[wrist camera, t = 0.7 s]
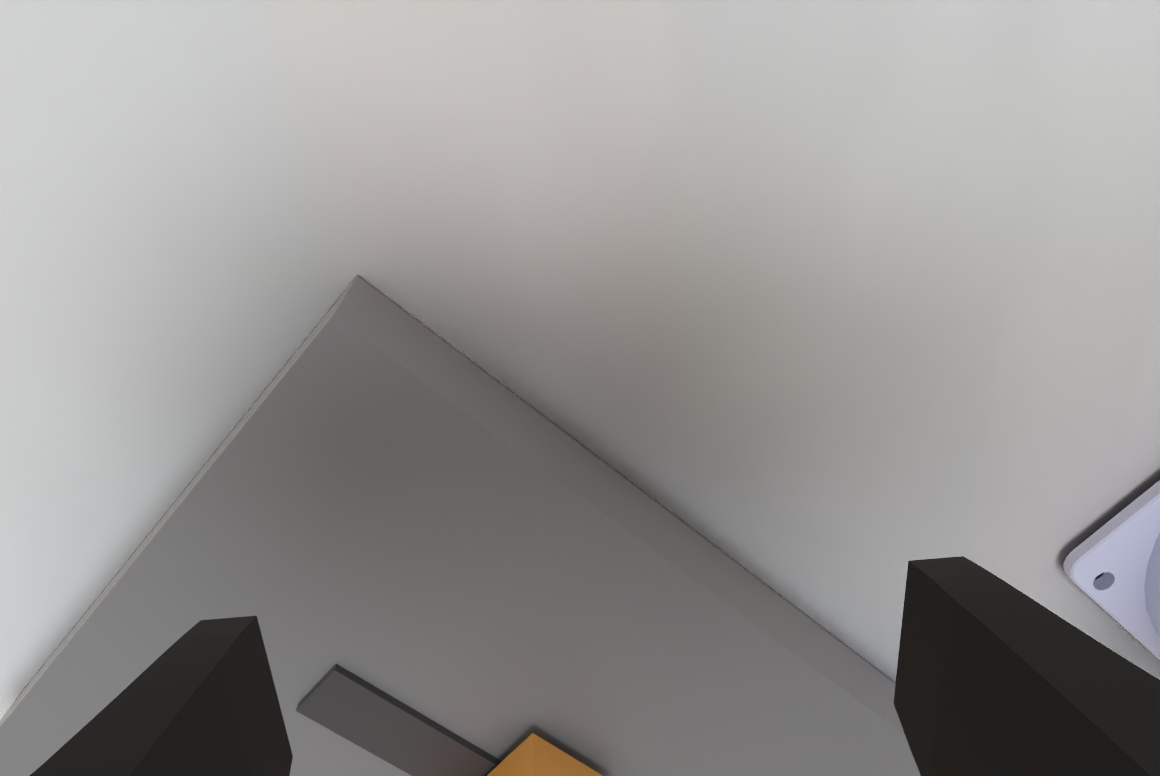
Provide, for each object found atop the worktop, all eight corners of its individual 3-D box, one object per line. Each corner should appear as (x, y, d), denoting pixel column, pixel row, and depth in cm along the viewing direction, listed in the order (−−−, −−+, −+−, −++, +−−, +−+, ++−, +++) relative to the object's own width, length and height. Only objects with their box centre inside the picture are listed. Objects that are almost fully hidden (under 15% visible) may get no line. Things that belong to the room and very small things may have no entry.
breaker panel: (920, 702, 23) (967, 784, 21) (571, 979, 27) (576, 1078, 25) (357, 275, 18) (330, 318, 15) (17, 698, 21) (-50, 789, 19)
